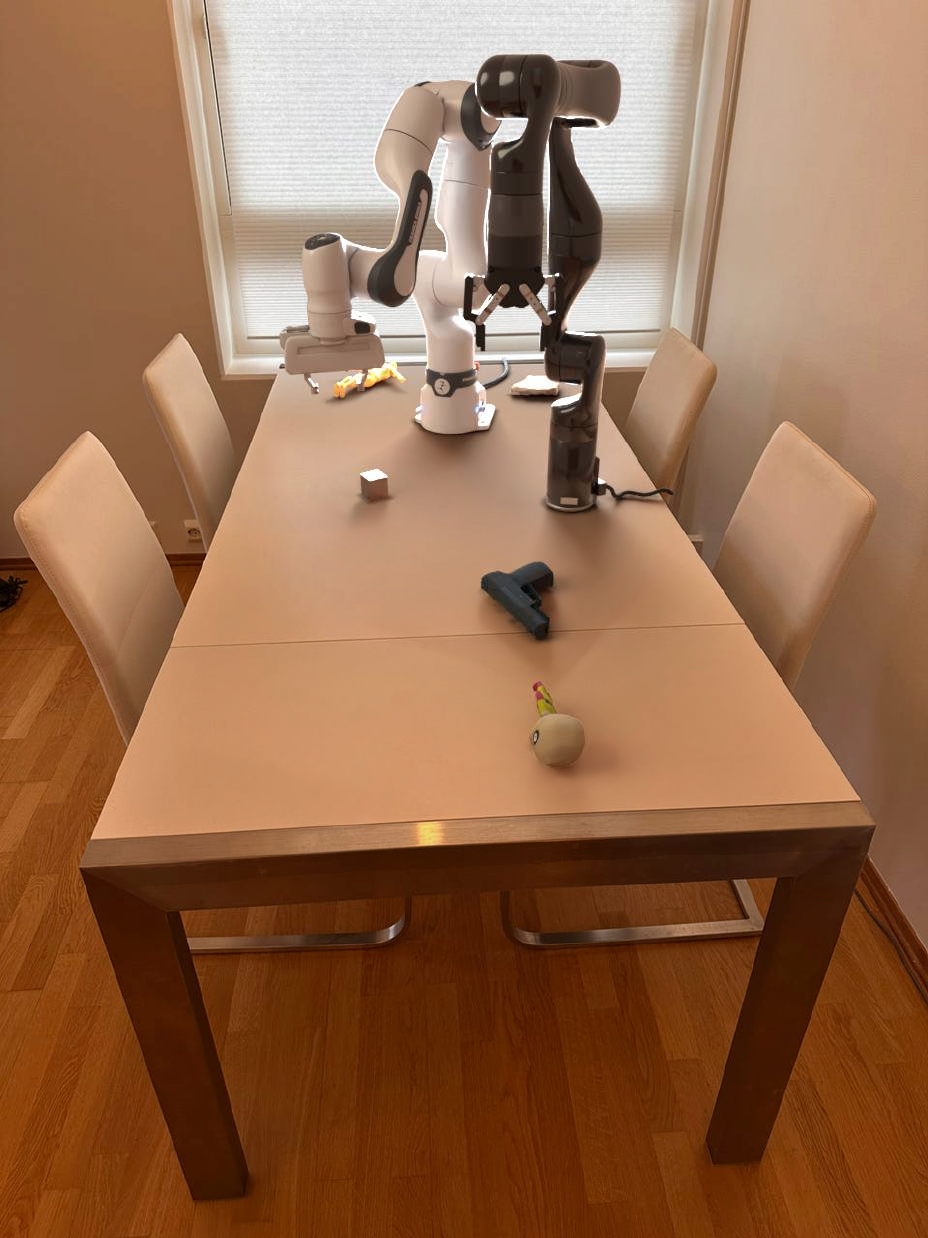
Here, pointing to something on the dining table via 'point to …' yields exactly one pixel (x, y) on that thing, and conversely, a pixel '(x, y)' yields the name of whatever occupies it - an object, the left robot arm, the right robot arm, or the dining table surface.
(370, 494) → the block
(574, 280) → the right robot arm
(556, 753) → the toy
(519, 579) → the handgun
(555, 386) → the stone
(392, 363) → the human figure
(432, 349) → the left robot arm
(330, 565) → the dining table surface
